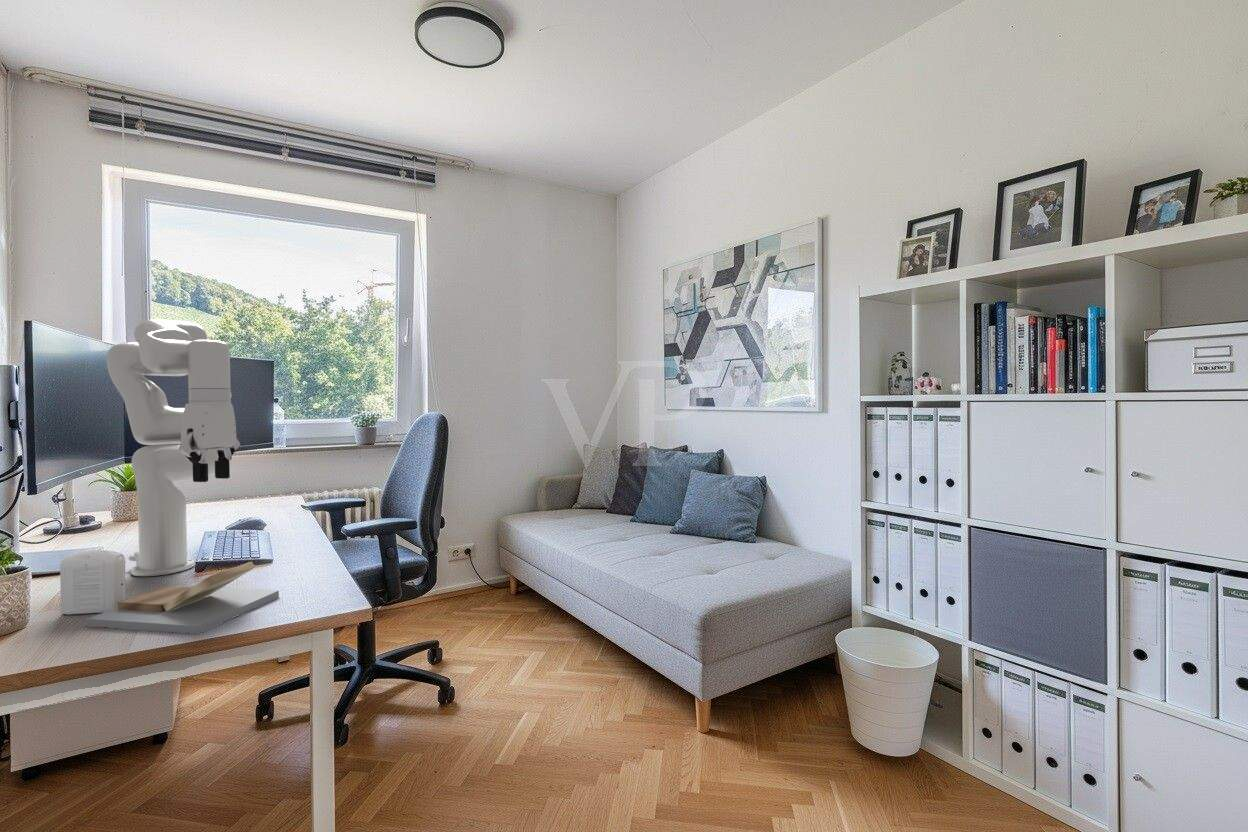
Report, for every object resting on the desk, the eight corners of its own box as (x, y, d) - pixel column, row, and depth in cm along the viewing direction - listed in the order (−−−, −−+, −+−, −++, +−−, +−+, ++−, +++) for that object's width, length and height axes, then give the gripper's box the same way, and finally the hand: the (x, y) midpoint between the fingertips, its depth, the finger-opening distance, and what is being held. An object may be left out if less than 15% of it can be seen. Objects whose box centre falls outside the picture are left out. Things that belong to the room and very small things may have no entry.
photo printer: (130, 605, 121) (128, 546, 120) (117, 612, 116) (115, 551, 116) (71, 609, 118) (70, 549, 118) (56, 617, 114) (54, 555, 114)
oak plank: (166, 611, 112) (162, 604, 112) (210, 594, 122) (207, 588, 122) (214, 582, 111) (210, 575, 111) (255, 567, 120) (251, 561, 121)
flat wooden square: (117, 609, 114) (117, 601, 114) (165, 592, 124) (165, 585, 124) (161, 612, 113) (161, 604, 112) (206, 595, 122) (206, 588, 122)
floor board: (86, 626, 109) (86, 618, 109) (182, 591, 129) (182, 585, 129) (197, 634, 106) (197, 626, 106) (278, 597, 125) (278, 590, 125)
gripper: (227, 397, 136) (228, 474, 136) (158, 397, 119) (160, 485, 119) (255, 397, 134) (257, 475, 135) (190, 396, 118) (192, 486, 118)
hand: (211, 479), depth 127 cm, fingers open, 4 cm apart
